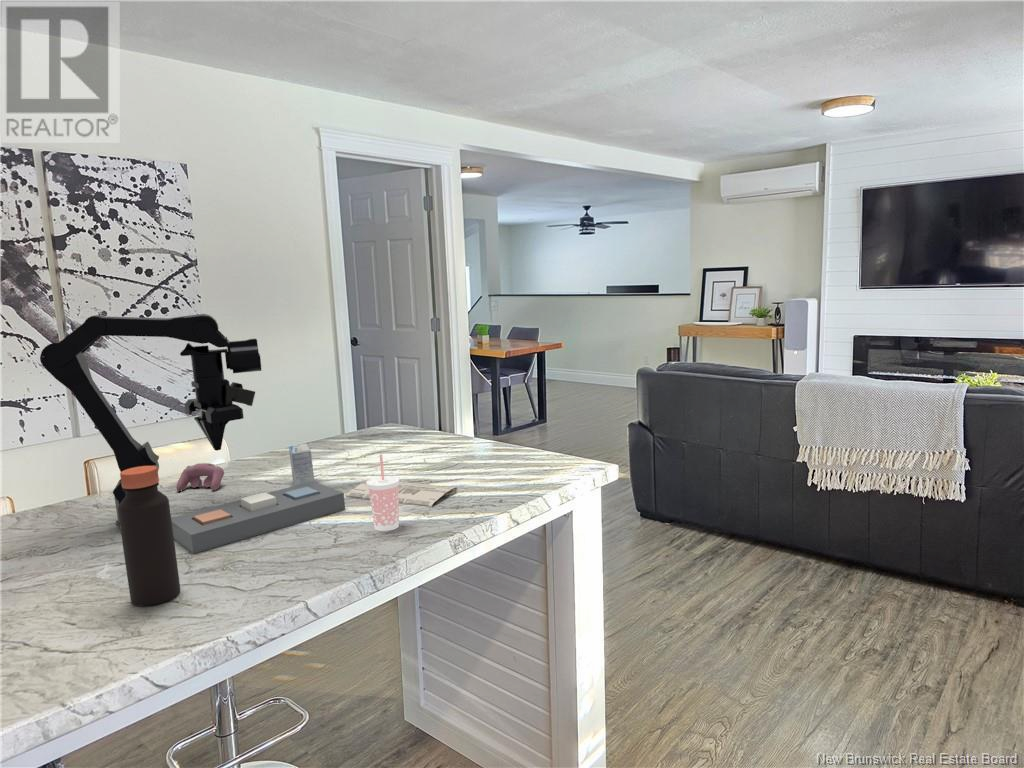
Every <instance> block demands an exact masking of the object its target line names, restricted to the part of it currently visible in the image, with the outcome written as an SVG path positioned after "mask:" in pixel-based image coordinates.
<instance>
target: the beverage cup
mask: <svg viewBox="0 0 1024 768" xmlns="http://www.w3.org/2000/svg"><path fill="white" fill-rule="evenodd" d="M379 462H380V463H379V465H380V474H381V476H378V477H372V478H370V480H369V479H368V481H367V480H366V481H367V488H369V495H370V500H369V501H370V507H371V514H372V521H373V527H374V530H375V531H379V532H389V531H392V530H396V529H397V528H399V526H400V521H399V519H400V518H399V517H400V512H399V504H400V503H399V502H398V485H399V482H400V478H399V477H398V476H392V475H385V473H384V460H383V454H379Z"/></svg>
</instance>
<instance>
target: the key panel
mask: <svg viewBox="0 0 1024 768" xmlns="http://www.w3.org/2000/svg"><path fill="white" fill-rule="evenodd" d="M304 487H309V488H312V489H314V490H317V491H318V492H319V494H316V495H313V496H309V497H305V498H301V499H298V500H293V499H291V498H289V497H286V496H285V492H288V491H292V490H296V489H300V488H304ZM267 493H268V494H270V495H272V496H274V497H276V503H277V505H276V506H272V507H268V508H264V509H261V510H257V511H253V512H249V511H247V510H245V509H243V508H242V507H241V499H239V500H235V501H231V502H227V503H224V504H220V505H216V506H212V507H207V508H204V509H200V510H199V509H198V510H196V511H192V512H187V513H185V514H184V513H183V514H179V515H177V516H176V515H175V516H171V521H172V529H173V536H174V541H175V540H176V541H175V542H177V543H178V544H179V543H180V544H179V545H181V546H182V547H184V548H185V549H186V550H188V551H189V552H191V554H193V555H194V554H198V553H201V552H204V551H208V550H211V549H215V548H218V547H219V548H220V547H222V546H225V544H226V545H228V543H229V544H232V543H236V542H238V541H242V540H245V539H249V538H252V537H255V536H259V535H262V534H265V533H269V532H272V531H275V530H280V529H283V528H286V527H290V526H293V525H296V524H300V523H303V522H307V521H309V520H313V519H316V518H320V517H323V516H326V515H330V514H333V513H337V512H339V511H344V510H346V504H345V495H344V492H343V491H340V490H337V489H334V488H332V487H329V486H327V485H325V484H322V483H319V482H316V481H315V480H314V481H312V482H309V483H305V484H301V485H297V486H295V485H293V486H290V487H287V488H281V489H278V490H274V491H270V492H267ZM219 509H221V510H223V511H225V512H226V513H228V514H230V515H231V518H227V519H224V520H220V521H216V522H213V523H209V524H205V525H201V524H199V523H197V522H196V521H194V516H196V515H200V514H204V513H208V512H212V511H215V510H219ZM231 542H232V543H231Z"/></svg>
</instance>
